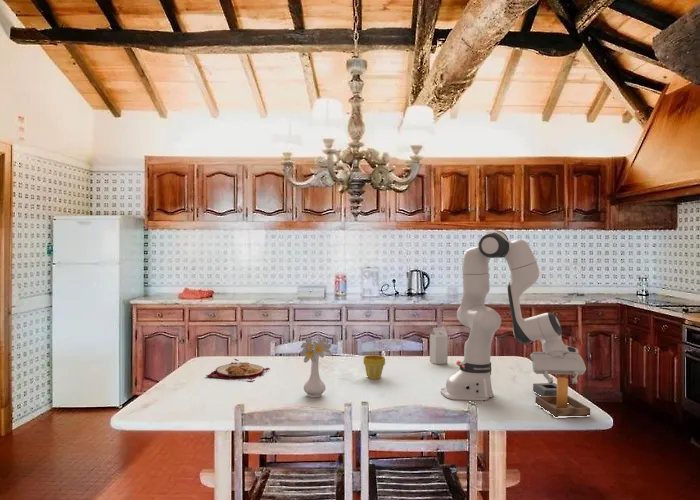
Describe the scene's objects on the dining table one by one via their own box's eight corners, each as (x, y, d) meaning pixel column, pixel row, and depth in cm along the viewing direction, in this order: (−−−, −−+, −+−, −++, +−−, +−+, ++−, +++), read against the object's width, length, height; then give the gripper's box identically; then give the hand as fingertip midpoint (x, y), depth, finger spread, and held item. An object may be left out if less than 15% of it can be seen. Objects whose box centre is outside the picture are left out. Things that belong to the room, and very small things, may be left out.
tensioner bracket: (544, 399, 220) (544, 390, 219) (533, 392, 229) (533, 383, 229) (566, 399, 221) (566, 389, 221) (554, 391, 231) (554, 383, 231)
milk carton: (429, 361, 284) (430, 326, 283) (441, 360, 286) (441, 326, 286) (435, 364, 277) (436, 329, 277) (447, 363, 279) (448, 328, 279)
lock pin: (559, 410, 203) (560, 379, 203) (554, 406, 207) (555, 377, 207) (569, 409, 204) (570, 379, 204) (563, 406, 208) (564, 376, 208)
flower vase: (296, 402, 211) (297, 341, 211) (303, 389, 230) (303, 333, 229) (328, 403, 211) (329, 342, 210) (332, 390, 229) (333, 333, 228)
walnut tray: (555, 418, 197) (555, 409, 197) (535, 404, 213) (535, 396, 213) (590, 417, 199) (590, 408, 198) (567, 403, 214) (567, 395, 214)
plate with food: (204, 379, 247) (204, 371, 247) (232, 364, 272) (232, 357, 272) (252, 384, 240) (252, 376, 240) (275, 369, 266) (275, 362, 266)
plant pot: (383, 374, 256) (384, 354, 256) (385, 380, 246) (386, 359, 246) (362, 374, 256) (363, 354, 256) (364, 380, 245) (364, 359, 245)
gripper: (531, 347, 212) (538, 378, 203) (581, 348, 212) (591, 379, 202) (527, 356, 217) (534, 386, 207) (577, 357, 216) (586, 387, 207)
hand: (563, 382), depth 205 cm, fingers open, 8 cm apart
